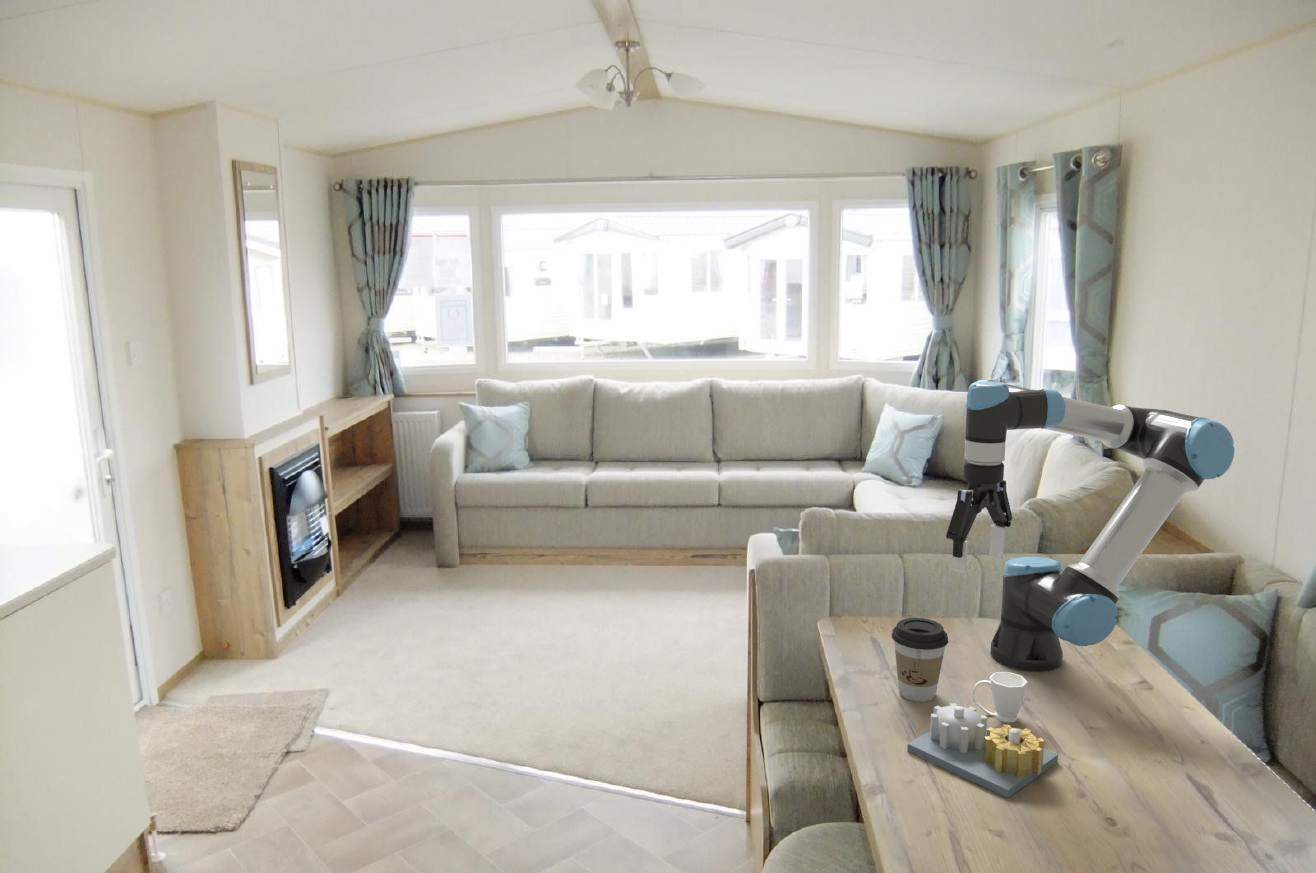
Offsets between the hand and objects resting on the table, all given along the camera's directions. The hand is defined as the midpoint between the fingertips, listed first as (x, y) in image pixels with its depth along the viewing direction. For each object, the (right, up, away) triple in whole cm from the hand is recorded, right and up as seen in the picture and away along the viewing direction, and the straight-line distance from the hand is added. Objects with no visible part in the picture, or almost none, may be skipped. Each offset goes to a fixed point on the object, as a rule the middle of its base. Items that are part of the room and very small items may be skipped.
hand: (978, 564), depth 187 cm
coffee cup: (-10, -28, +7) cm, 31 cm away
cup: (+3, -30, -2) cm, 30 cm away
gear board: (-5, -33, -17) cm, 37 cm away
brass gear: (-1, -32, -21) cm, 39 cm away
